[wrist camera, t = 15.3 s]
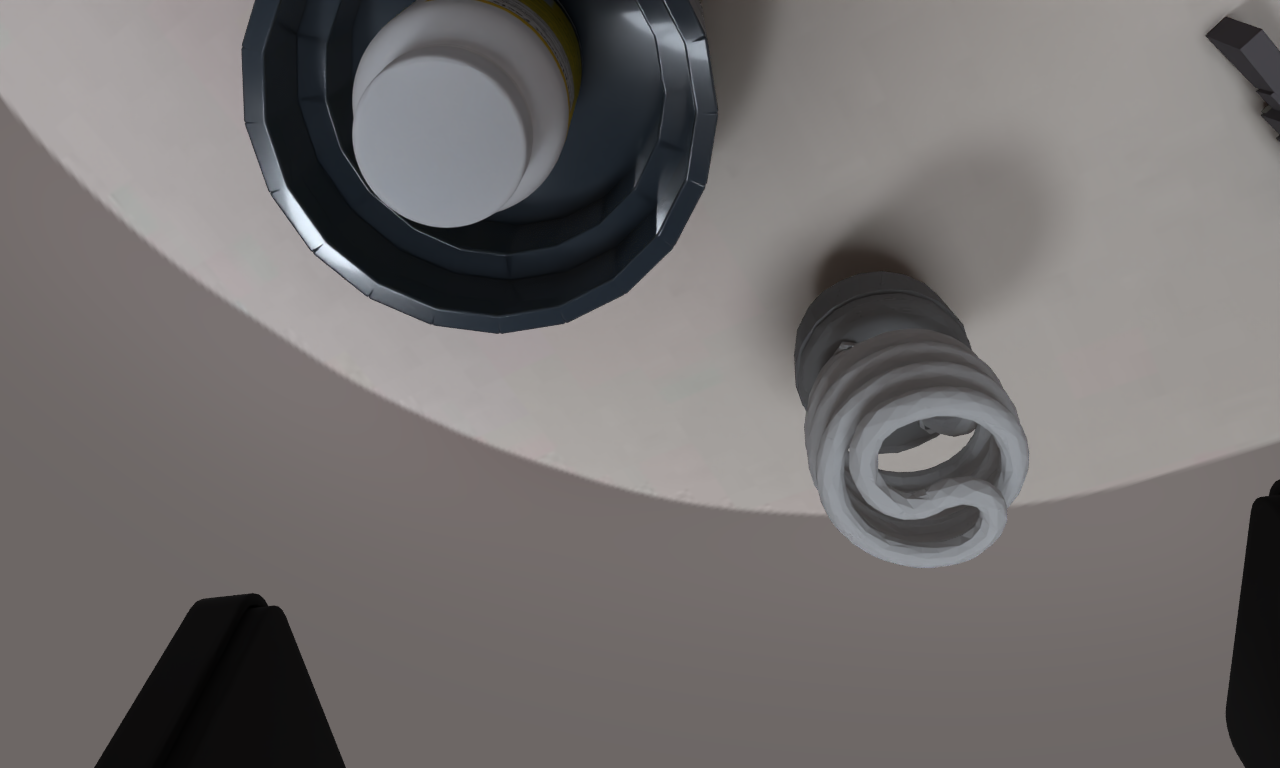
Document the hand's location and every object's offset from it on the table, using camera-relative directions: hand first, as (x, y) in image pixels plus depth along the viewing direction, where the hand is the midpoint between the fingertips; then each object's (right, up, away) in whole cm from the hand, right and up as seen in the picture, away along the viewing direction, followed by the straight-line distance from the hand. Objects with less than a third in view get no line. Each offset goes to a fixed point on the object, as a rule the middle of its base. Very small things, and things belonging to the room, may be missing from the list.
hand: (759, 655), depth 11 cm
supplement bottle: (-6, +13, +23) cm, 27 cm away
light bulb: (+6, +5, +27) cm, 28 cm away
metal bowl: (-5, +12, +23) cm, 27 cm away
